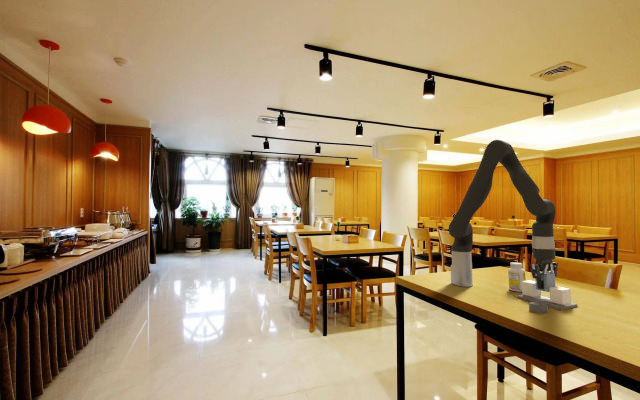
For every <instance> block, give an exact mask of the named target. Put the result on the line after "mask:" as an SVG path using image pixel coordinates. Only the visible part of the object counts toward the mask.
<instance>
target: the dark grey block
mask: <svg viewBox="0 0 640 400" xmlns="http://www.w3.org/2000/svg"><path fill="white" fill-rule="evenodd" d="M528 309H529V311H530V312H533V313H535V314H539V315H541V314H542V315H543V314H547V313H548V306H547V305H546V304H543V303H539V302H531V301H530V302H529V303H528Z"/></svg>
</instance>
